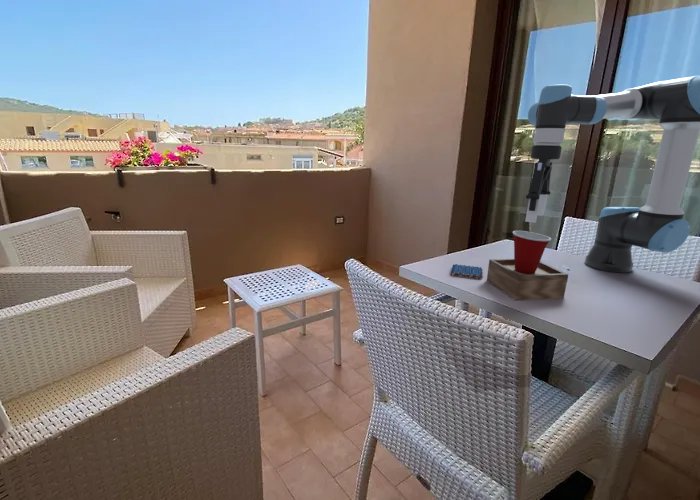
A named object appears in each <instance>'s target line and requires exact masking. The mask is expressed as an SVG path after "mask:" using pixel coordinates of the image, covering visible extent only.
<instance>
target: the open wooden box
mask: <svg viewBox="0 0 700 500" xmlns="http://www.w3.org/2000/svg"><path fill="white" fill-rule="evenodd" d="M487 269H488V270H487V275H486V282H488V283H489V284H490V285H492V286H493V287H495V288H496V289H498V290H500V291H501V292H502V293H503V294H505V295H506V296H508V297H510V299H512V300H514V301H530V300H531V301H532V300H550V299H553V300H554V299H565V293H566V289H567V283H568V278H569V274H568V273H566V272H564V271H562V270H560V269H557V268H556V267H553V266H552V265H549V264H547V263H546V262H542V261H541V260H540V262H539V264H538V267H537V270H536V271H535V273H534V274H523V273H519V272H517V271H516V270H515V260H514V258H498V259H490V258H489V259H488V268H487Z"/></svg>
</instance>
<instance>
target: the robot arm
mask: <svg viewBox="0 0 700 500" xmlns="http://www.w3.org/2000/svg"><path fill="white" fill-rule="evenodd" d="M572 91H573V87H572V85H569V84H564V83H563V84H550V85H547V86H544V87H543V88H542V89H541V91H540V95H539V99H538V102H535V103H533V104H532V105H531V107H530V108H529V110H528V112H527V119H528V122H529V124H530V125H531V126H532V127H534V129H535V130H534V132H532V133H531V136H533V139H532V143H533V144H534V145H532V147H531V151H530V159H535V160H538V161H537V162H535V163H534V167H533V168H534V169H533V174H532V177H531V182H530V186H529V190H528V194H526V196H525V199H526V200H527V199H528V202H527V207H526V215H525V220H524V221H525V222H526V223H527V222H528V223H534V224H535V223H537V219H538V218H537V217H538V216H540V217H544V215H545V211H546V205H547V199H548V195H549V196H550V195H551V190H550V183H551V175H552V174H551V172H552V170H553V169H552V168H553V162H552V161H551V160H560V158H561V154H562V148H563V147H562V145H561V144H564V138H565V132H566V128H567V127H566V126H569V125H584V126H585V125H586V126H588V125H595V124H597V123H599V122H600V121H602V120H605V119H613V118H619V119H621V120H628V119H629V120H631V119H641V120H659V122H658V125H659V126H660V128H662V130H663V131H662V136H661V139H660V143H659V148H658V153H657V156H656V161H655V165H654V169H653V174H652V177H651V182H650V187H649V188H648V189H649V191H648V194H647V199H646V201H645V205H643V206H641V207H637V206H635V207H634V206H606V207H604V208H602V209H601V212H600V215H599V216H598V217H599V218H598V222H597V227H596V233H595V236H594V242H593V245H592V247H591V248H590V251H589V252H588V254H587V255H586V256H585V257H584V258H585V259H584V264H585V265H587V266H588V267H590V268H593V269H598V270H601V271H604V272H605V271H606V272H613V273H630V272H632V271H633V269H634V263H633V258H632V256H633V255H632V249H633V248H632V246H634V247H637V248H642V249H645V250H649V251H651V252H658V253H662V254H663V253H664V254H667V253H668V254H669V253H672V252H673V251H675V250H677V249H679V247H681V246H682V245H683V244H684V243H685V242H686V240H687V239H688V237H689V235H690V231H691V226H690V223H689V221H687V220H686V219H684V217H685V216H684V215H685V212H684V211H683V210H682V208H681V207H680V206H681V203H682V200H683V194H684V191H685V188H686V183H687V180H688V177H689V173H690V170H691V165H692V163H693V162H692V161H693V157H694V153H695V150H696V146H697V143H698V140H699V139H698V138H699V135H700V75H693V76H688V77H686V76H685V77H680V78H675V79H674V78H673V79H669V80H660V81H657V82H656V81H655V82H653V83H649V84H645V85H642V86H637V87H632V88H626V89H624V90H622V91H621V92H617V93H606V94H598V95H580V94H573V92H572Z"/></svg>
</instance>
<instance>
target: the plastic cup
mask: <svg viewBox="0 0 700 500" xmlns="http://www.w3.org/2000/svg"><path fill="white" fill-rule="evenodd" d="M512 235H513V248H514V249H513V252H514V254H513V255H514V258H513V259H514V260H515V270H516V271H517V272H519V273H523V274H534V273H535V271H536V270H537V267H538V264H539V262H540V261H541V260H542V257H543V254H544V252H545V249H546V248H547V245H548V244H549V242H551V241H552V238H551V237H550V236H548V235H544V234H541V233H538V232H534V231H528V230H527V231H526V230H513V231H512Z"/></svg>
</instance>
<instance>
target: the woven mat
mask: <svg viewBox="0 0 700 500" xmlns="http://www.w3.org/2000/svg"><path fill="white" fill-rule="evenodd" d="M483 272H484V271H483V269H482V267H479V266H473V265H472V266H471V265H465V264H457V263H454V264H452V267H451V271H450V275H451V276H452V277H459V278H461V277H462V278H465V279H468V278H469V279H475V280H478V279H479V280H482V279H483V278H484V275H483V274H484V273H483Z"/></svg>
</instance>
